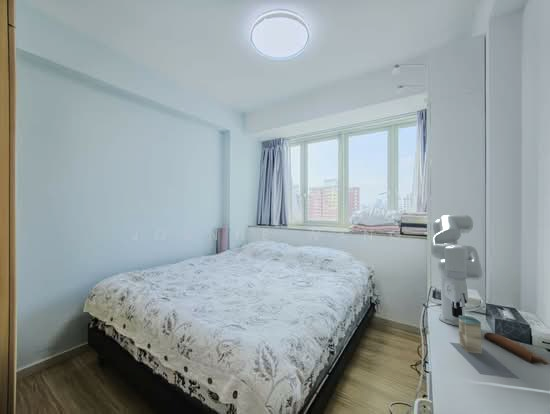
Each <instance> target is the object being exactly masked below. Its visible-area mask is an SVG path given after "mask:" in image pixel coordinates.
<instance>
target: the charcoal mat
mask: <svg viewBox="0 0 550 414" xmlns="http://www.w3.org/2000/svg"><path fill="white" fill-rule="evenodd" d="M449 343H450V345H451V346H452V347H454V349H456V351H457V352H458V353H459V354H460V355H461V356H462V357H463V358H464V359H466V361H467V362H468V363H469V364H470V365H471V366H472V367H473V368H474V369H475V370H476V371H477V372H478V373H479V374H480V375H484V376H485V375H487V376H494V377H502V378H509V379H518V380H520V377H519V376H517V375H516V374H515V373H514V372H512V370H510V369H509V368H508V367H507V366H506V365H504V364H503V363H502V362H501V361H499V360H498V359H497V358H496V357H495V356H494V355H492V354H491V353H490V352H488V351H487V350H486V349H485V348H484V347H483V346H482V354H480V353H471V352H466V351H465V350H464V349H463V348H462V347H461V346H460V342H451V341H450V342H449Z"/></svg>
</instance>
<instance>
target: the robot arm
mask: <svg viewBox="0 0 550 414" xmlns="http://www.w3.org/2000/svg"><path fill="white" fill-rule="evenodd" d="M473 228H474V221H473V219H472V217H471V216H470V215H468V214H446V215H442V216H441V217H440V218H438V219H436V220H435V221H434V222H433V223H432V230H433V233H434V236H433V237H432V238H431V241H430V252H431V256H432V257H433V258H434V259H435V260H439V261H438V264H437V268H438V272H439V279H440V295H441V296H440V298H441V299H440V300H441V313H439V314H438V319H439V320H440V321H441V322H443V323H445V324H448V325H451V326H456V327H459V316H466V304H467V303H468V302H469V295H468V294H469V293H468V286H467V285H468V284H467V280H470V281H479V280H481V279H482V278H483V268H482V265H481V261H480V256H479V253H478V250H477V249H476V248H475V247H474V246H471V245H462V244H459V243H458V240H460V238H461V236H462V235H461V234H468V233H470V232H471V231H472V230H473Z"/></svg>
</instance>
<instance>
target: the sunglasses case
mask: <svg viewBox="0 0 550 414" xmlns="http://www.w3.org/2000/svg"><path fill="white" fill-rule="evenodd" d="M483 338H484V339H485V340H487V341H488V342H491V343H492V344H494V345H496V346H499V347H501V348H502V349H505V350H506V351H508V352H510V353H512V354H513V355H516V356H517V357H519V358H520V359H523V360H525V361H526V362H528V363H530V364H531V365H533V364H543V365H545V366H546V365H550V362H549V361H548V360H546V359H544V358H543V357H542V356H540V355H538V353H535V352H534V351H532V350H530V349H528V348H527V347H526V346H525V345H523V344H520V343H519V342H516V341H514V340H512V339H510V338H508V337H506V336H503V335H501V334H499V333H498V334H497V333H493V332H486V333H485V334H484V335H483Z"/></svg>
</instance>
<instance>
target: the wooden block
mask: <svg viewBox="0 0 550 414" xmlns="http://www.w3.org/2000/svg"><path fill="white" fill-rule="evenodd" d="M458 330H459V331H458V333H459V335H458V336H459V343H460V346H461V347H462V348H463V349H464V350H465V351H466V352H471V353H480V354H482V347H483V346H482V323H481V321H480V320H478V319H477V318H475V317H474V316H470V315H469V316H468V315H465V316H459V326H458Z"/></svg>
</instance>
